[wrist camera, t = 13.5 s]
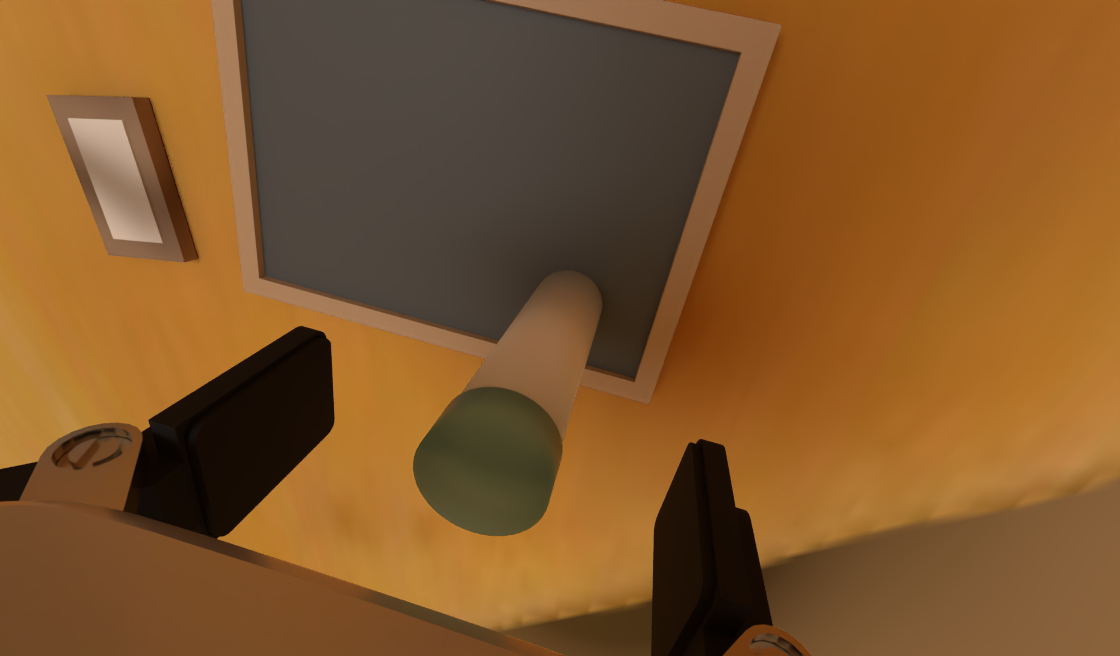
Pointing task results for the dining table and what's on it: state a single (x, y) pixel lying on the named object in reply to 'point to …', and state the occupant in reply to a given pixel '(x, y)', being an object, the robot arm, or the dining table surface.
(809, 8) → the dining table surface
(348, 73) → the slate
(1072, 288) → the dining table surface
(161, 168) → the picture frame
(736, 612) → the robot arm
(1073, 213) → the dining table surface
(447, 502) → the cylinder
